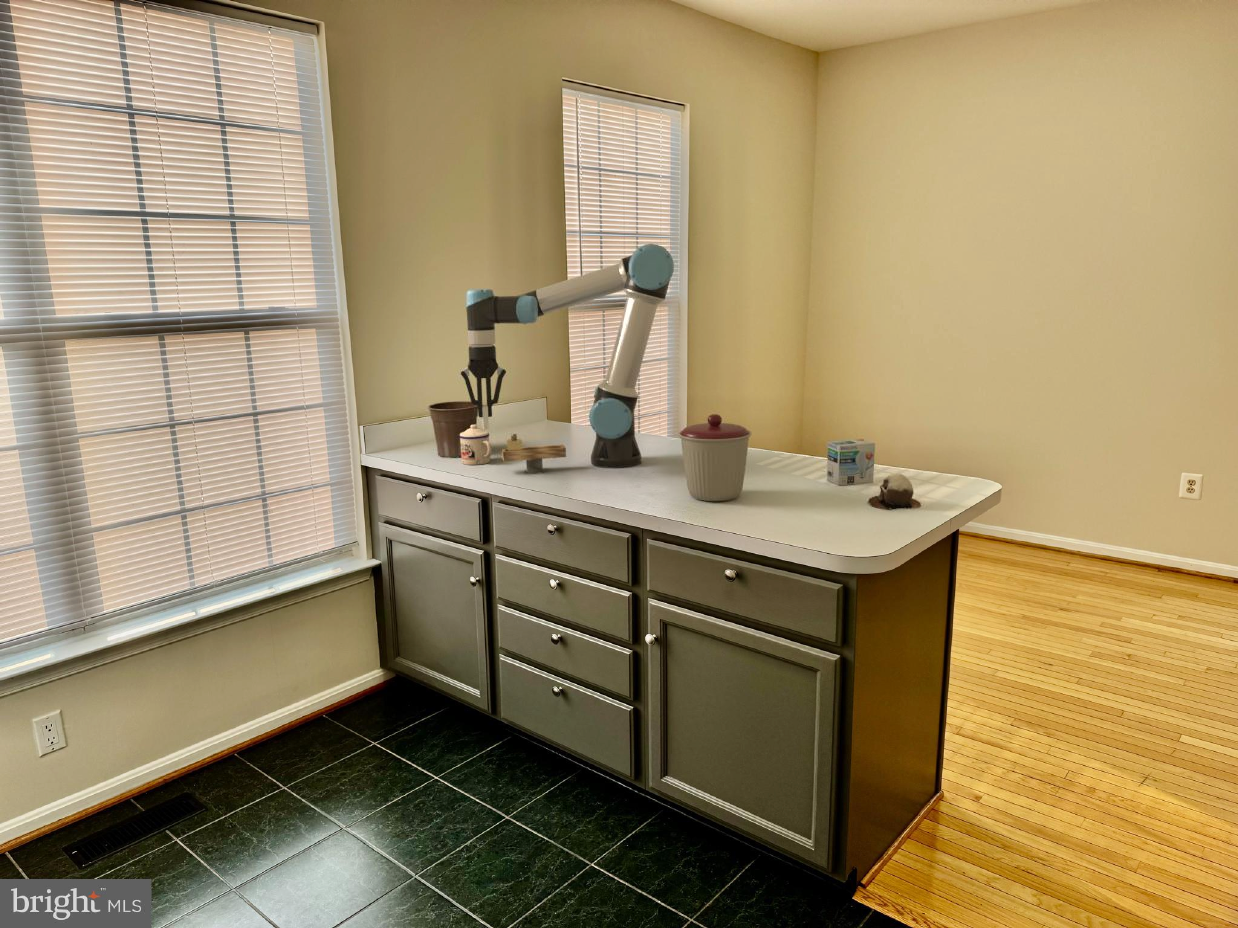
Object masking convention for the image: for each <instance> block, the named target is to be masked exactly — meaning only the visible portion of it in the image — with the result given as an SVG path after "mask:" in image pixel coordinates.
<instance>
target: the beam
mask: <svg viewBox="0 0 1238 928" xmlns="http://www.w3.org/2000/svg"><path fill="white" fill-rule="evenodd" d="M566 451H567V448H566V446H564V444H558V445H557V444H554V445H542V446H528V447H527V446H525V447H523V446H522V450H521V451H507V448H502V449H501V458H502V460H503V462H515V461H525V463H526V470H527V472H528V474H531V473H532V474H541V473H542V474H543V473H544V465H543V459H544V460H545V459H557V458H558V459H559V458H566V457H567V452H566Z"/></svg>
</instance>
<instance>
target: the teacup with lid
mask: <svg viewBox="0 0 1238 928" xmlns="http://www.w3.org/2000/svg"><path fill="white" fill-rule="evenodd" d="M470 427H471V428H470V429H467V430H466V431H465V432H462V433H460V436H459V437H460V442H461V456H460V458H461V463H462V464H463V465H464V466H465V465H466V466H480V465H485V464H486V465H487V464H489V463H490V462H491V455H492V444H491V442H490V432H488V430H485V429H481V428H479V427H478V425H471V426H470Z"/></svg>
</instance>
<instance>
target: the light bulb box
mask: <svg viewBox="0 0 1238 928" xmlns="http://www.w3.org/2000/svg"><path fill="white" fill-rule="evenodd" d="M875 449H876V443H875V442H872V441H869V440H867V439H865V438H857V439H856V438H855V439H842V440H833V441H827V461H826V462H827V465H826V466H827V467H826V481H827V482H830V483H832V484H835V485H836V486H849V485H858V484H859V485H861V484H873V483H874V476H875V475H874V471H875Z"/></svg>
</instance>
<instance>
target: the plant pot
mask: <svg viewBox="0 0 1238 928" xmlns="http://www.w3.org/2000/svg"><path fill="white" fill-rule="evenodd" d="M427 409H428V410H429V415H430V419H431V420H432V426H433V432H434V438H435V439H434V440H435V444H436V450H437V455H438V456H439V457H440V458H445V457H450V458H449V459H452V458H451V457H459V458H461V442H460V437H459V436H460V433H462V432H465V431H466V430H467V429H470V428H471V427H470V426H471V425H477V421H478V417H479V415H478V406H477V405H474V404H472V402H471V400H470V401H468V400H467V401H465V400H464V401H463V400H461V401H460V400H459V401H458V400H457V401H444V402H436V403H433V404H429V405H428V406H427ZM477 426H478V425H477Z"/></svg>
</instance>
